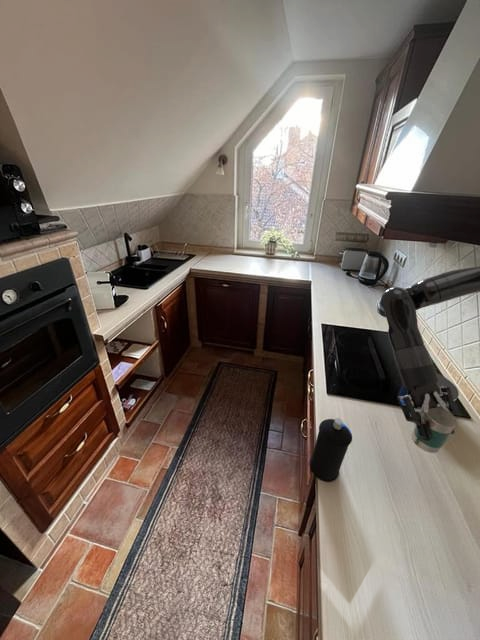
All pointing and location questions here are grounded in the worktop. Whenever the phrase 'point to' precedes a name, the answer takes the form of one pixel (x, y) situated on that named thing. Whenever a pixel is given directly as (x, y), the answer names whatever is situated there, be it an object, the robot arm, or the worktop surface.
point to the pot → (441, 383)
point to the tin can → (435, 429)
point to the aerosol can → (330, 449)
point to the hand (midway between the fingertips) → (438, 436)
